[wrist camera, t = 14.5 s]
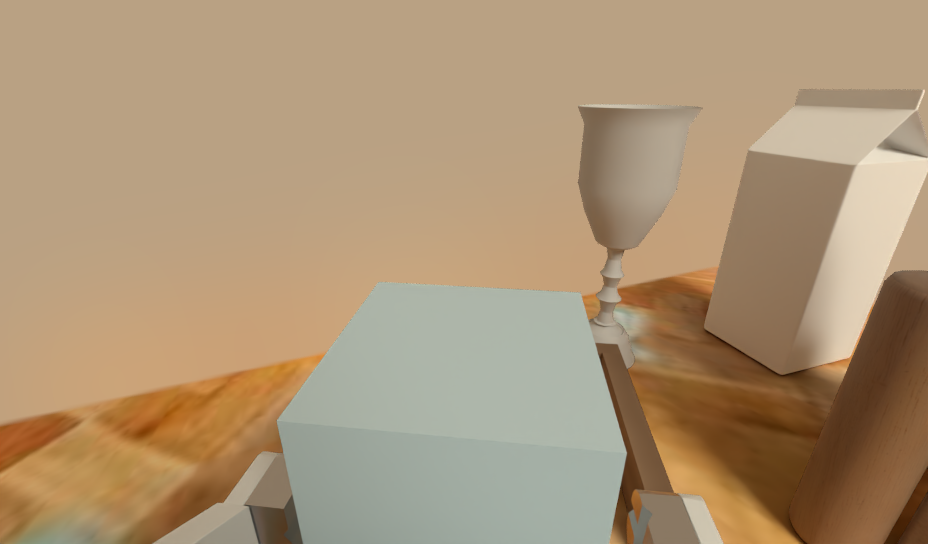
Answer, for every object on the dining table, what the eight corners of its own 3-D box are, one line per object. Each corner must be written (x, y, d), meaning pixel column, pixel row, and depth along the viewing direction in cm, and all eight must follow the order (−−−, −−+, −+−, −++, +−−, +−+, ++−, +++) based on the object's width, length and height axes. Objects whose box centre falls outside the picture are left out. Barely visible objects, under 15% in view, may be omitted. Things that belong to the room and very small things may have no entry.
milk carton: (781, 378, 31) (882, 89, 23) (701, 329, 37) (762, 89, 30) (849, 360, 33) (963, 89, 25) (763, 316, 39) (834, 89, 32)
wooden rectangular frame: (308, 523, 20) (298, 477, 19) (386, 363, 32) (383, 329, 31) (669, 566, 19) (683, 518, 17) (611, 380, 31) (617, 344, 29)
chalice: (665, 354, 34) (719, 106, 26) (624, 394, 29) (676, 110, 22) (582, 321, 38) (609, 103, 31) (536, 351, 34) (555, 106, 27)
